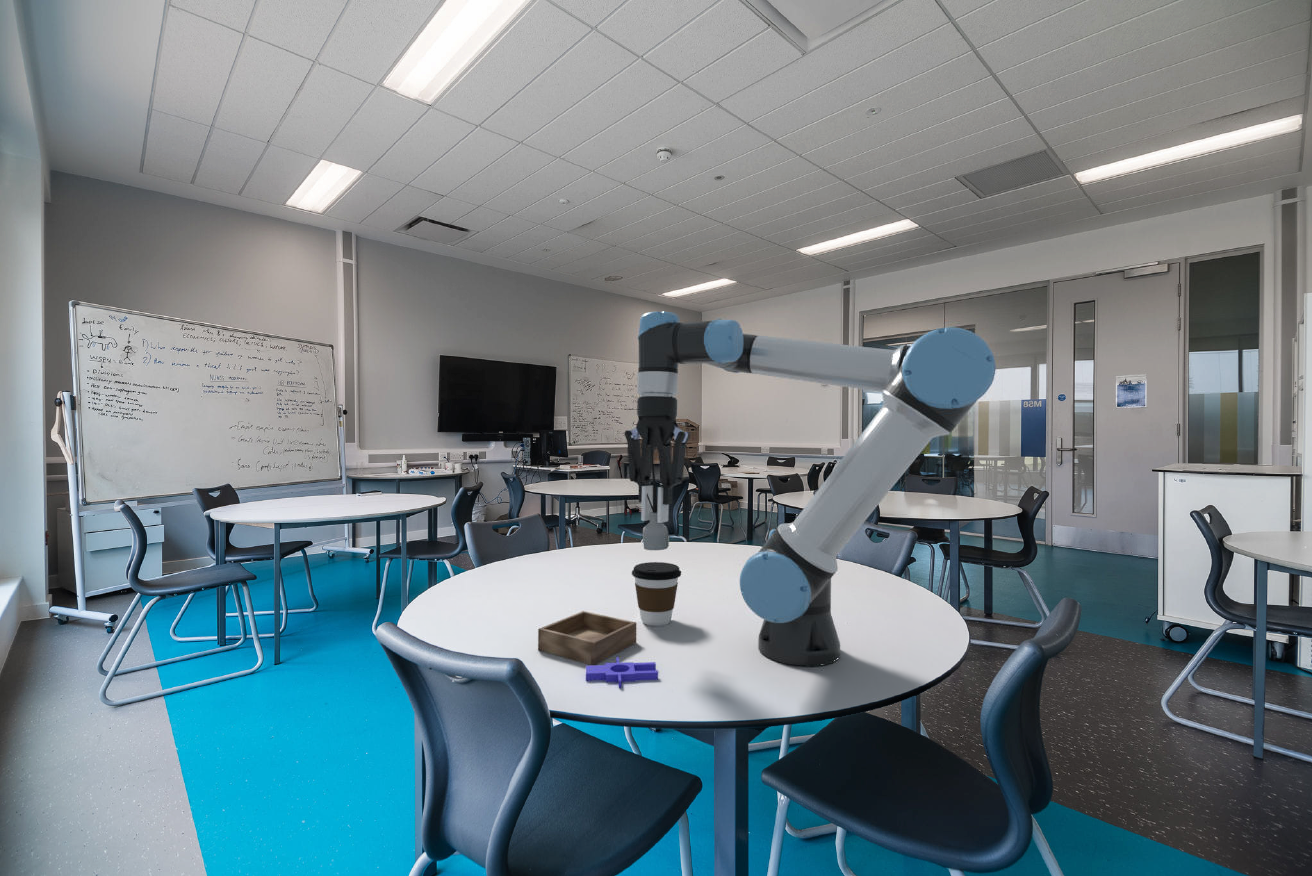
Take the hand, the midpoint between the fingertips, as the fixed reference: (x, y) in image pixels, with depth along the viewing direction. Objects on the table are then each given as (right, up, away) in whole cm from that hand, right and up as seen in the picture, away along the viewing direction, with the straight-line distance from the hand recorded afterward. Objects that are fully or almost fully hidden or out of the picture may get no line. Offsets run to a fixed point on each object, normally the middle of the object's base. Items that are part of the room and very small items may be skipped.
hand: (654, 520), depth 108 cm
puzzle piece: (-6, -25, -11) cm, 28 cm away
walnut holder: (-13, -25, +3) cm, 28 cm away
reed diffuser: (-1, -6, +1) cm, 6 cm away
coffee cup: (0, -25, +18) cm, 31 cm away
